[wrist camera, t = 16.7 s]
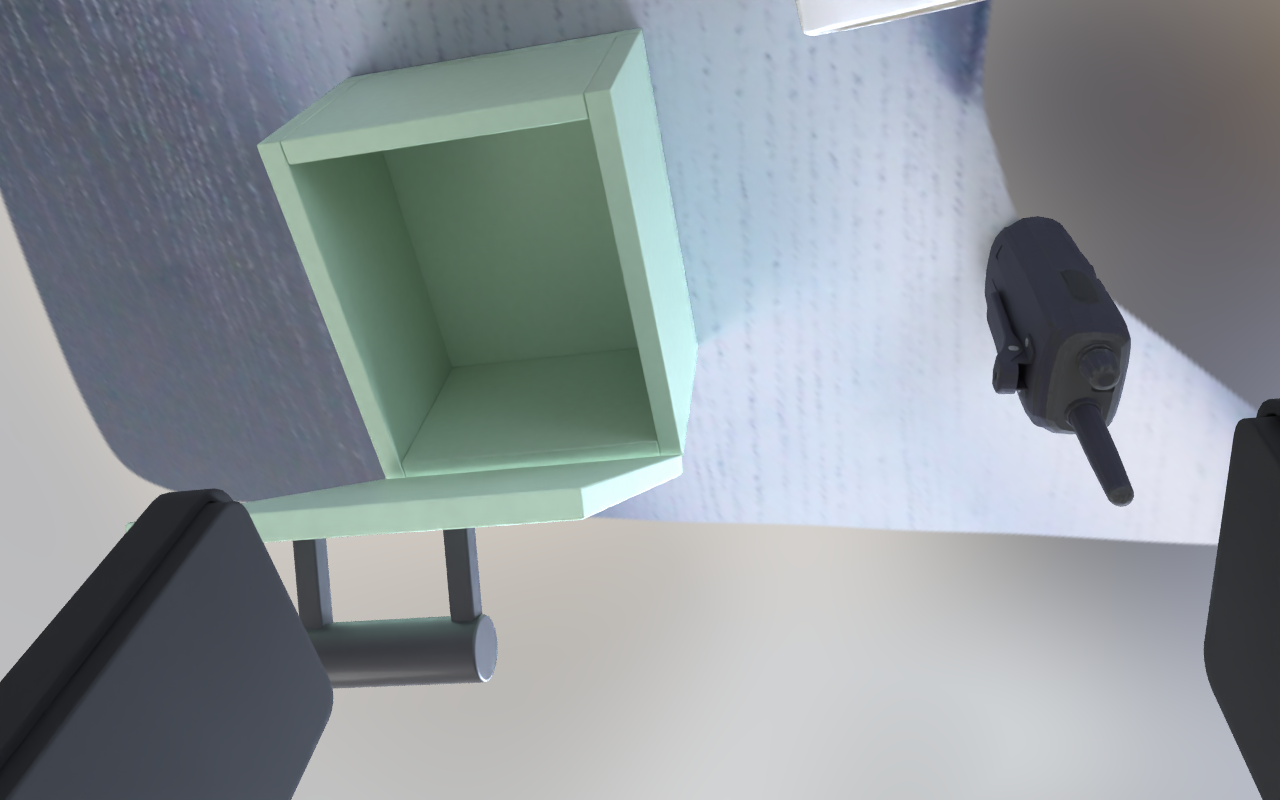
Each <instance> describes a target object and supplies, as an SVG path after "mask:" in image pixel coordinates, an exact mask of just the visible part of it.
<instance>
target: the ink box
mask: <svg viewBox="0 0 1280 800" xmlns="http://www.w3.org/2000/svg"><path fill="white" fill-rule="evenodd" d="M980 1H985V0H796V5H797V10H798V15H799V19H800V23H801V27H802V30H803V32H804V33H805V34H806V35H809V36H818V35H821V34H827V33H832V32H837V31H845V30H850V29H856V28H861V27H866V26H871V25H876V24H881V23H885V22H890V21H895V20H900V19H905V18H909V17H914V16H918V15H923V14H927V13H932V12H936V11H941V10H945V9H950V8H955V7H959V6H963V5H967V4H972V3H976V2H980Z"/></svg>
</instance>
